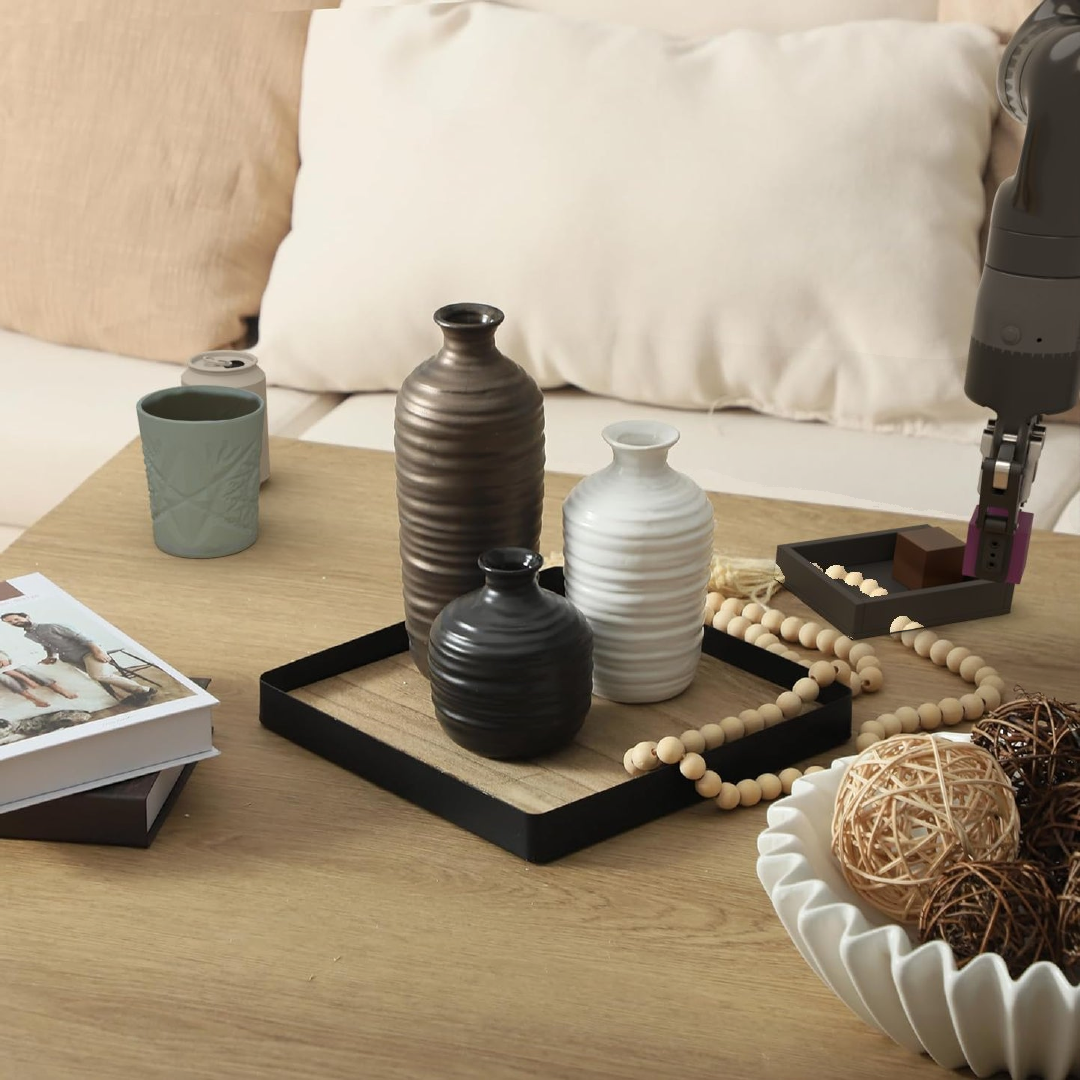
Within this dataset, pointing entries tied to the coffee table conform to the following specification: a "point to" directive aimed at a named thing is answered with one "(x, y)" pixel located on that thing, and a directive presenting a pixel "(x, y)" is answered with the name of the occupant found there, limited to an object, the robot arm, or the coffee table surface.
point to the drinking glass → (202, 467)
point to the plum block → (1018, 546)
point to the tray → (875, 562)
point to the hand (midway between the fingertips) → (994, 565)
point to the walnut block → (928, 558)
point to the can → (232, 383)
